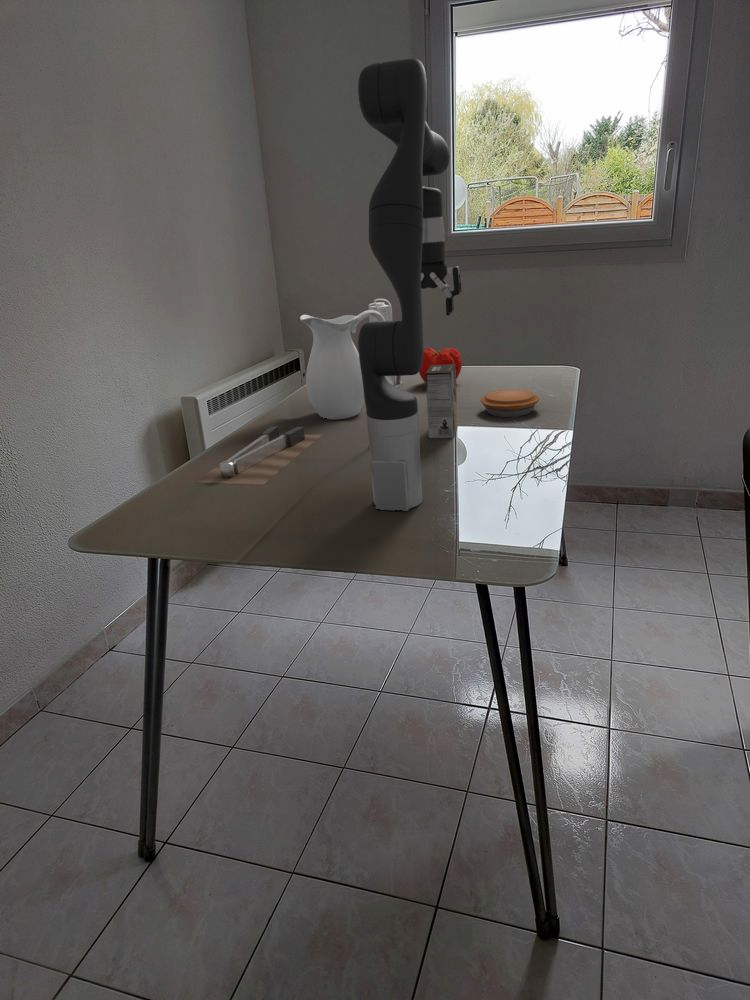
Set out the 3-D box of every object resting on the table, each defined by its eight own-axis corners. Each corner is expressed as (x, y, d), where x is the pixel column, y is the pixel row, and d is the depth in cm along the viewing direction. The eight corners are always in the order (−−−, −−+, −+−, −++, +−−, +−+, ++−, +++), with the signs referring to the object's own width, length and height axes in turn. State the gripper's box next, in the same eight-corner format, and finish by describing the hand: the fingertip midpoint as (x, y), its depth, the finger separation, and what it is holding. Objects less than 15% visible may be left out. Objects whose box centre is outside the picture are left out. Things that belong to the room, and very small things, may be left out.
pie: (510, 401, 188) (510, 383, 186) (551, 411, 176) (552, 392, 174) (468, 412, 181) (468, 394, 179) (508, 423, 168) (508, 404, 167)
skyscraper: (395, 390, 210) (389, 298, 199) (370, 390, 213) (363, 299, 202) (402, 384, 217) (397, 295, 207) (378, 384, 220) (372, 296, 209)
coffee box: (432, 427, 170) (430, 364, 163) (457, 427, 168) (456, 363, 162) (428, 438, 161) (425, 372, 155) (454, 438, 160) (452, 371, 154)
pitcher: (316, 426, 179) (304, 320, 168) (304, 411, 194) (293, 313, 183) (400, 413, 184) (394, 309, 174) (383, 400, 200) (376, 304, 189)
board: (263, 491, 136) (262, 484, 136) (195, 488, 141) (193, 482, 140) (322, 440, 166) (321, 434, 166) (264, 439, 171) (263, 434, 170)
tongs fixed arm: (231, 478, 141) (228, 465, 139) (217, 478, 141) (214, 465, 140) (285, 438, 165) (283, 426, 164) (273, 437, 166) (271, 426, 165)
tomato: (415, 389, 209) (413, 352, 205) (425, 379, 222) (424, 343, 217) (457, 389, 205) (456, 351, 201) (465, 379, 218) (464, 342, 213)
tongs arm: (241, 473, 143) (239, 460, 142) (234, 472, 144) (232, 459, 143) (304, 439, 163) (303, 427, 162) (298, 438, 164) (297, 426, 163)
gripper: (392, 243, 147) (396, 319, 153) (456, 238, 142) (458, 316, 148) (401, 242, 153) (404, 314, 159) (462, 237, 149) (464, 312, 155)
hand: (430, 315), depth 154 cm, fingers open, 8 cm apart
